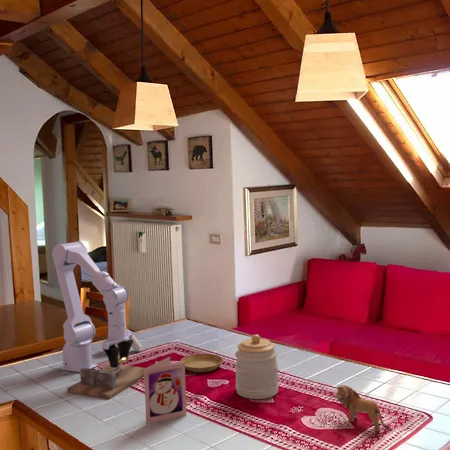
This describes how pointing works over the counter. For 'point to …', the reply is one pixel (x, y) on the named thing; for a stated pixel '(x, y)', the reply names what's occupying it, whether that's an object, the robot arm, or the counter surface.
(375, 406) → the lion figurine
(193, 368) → the plant saucer
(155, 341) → the counter surface
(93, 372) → the wooden board
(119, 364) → the brass knob with shaft
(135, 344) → the wall hook
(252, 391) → the jar
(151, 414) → the greeting card
